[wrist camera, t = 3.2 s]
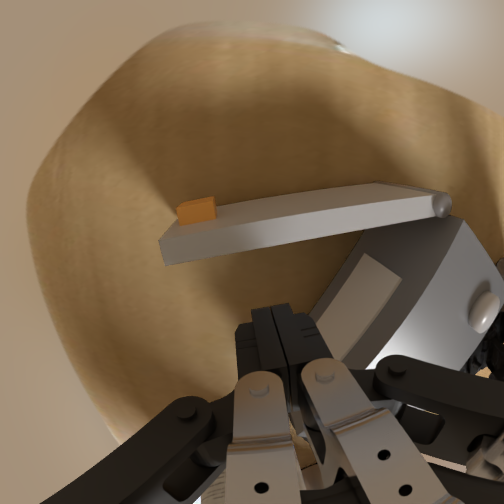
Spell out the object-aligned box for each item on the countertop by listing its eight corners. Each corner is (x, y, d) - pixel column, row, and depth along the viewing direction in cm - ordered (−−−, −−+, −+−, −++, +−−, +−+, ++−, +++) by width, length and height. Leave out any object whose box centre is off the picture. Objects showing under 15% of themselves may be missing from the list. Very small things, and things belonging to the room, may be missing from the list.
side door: (186, 230, 16) (164, 270, 10) (179, 199, 15) (151, 220, 9) (385, 197, 16) (451, 216, 10) (383, 169, 16) (451, 177, 10)
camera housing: (339, 399, 22) (371, 466, 14) (257, 376, 20) (274, 463, 12) (447, 257, 19) (517, 296, 11) (382, 195, 17) (474, 221, 9)
